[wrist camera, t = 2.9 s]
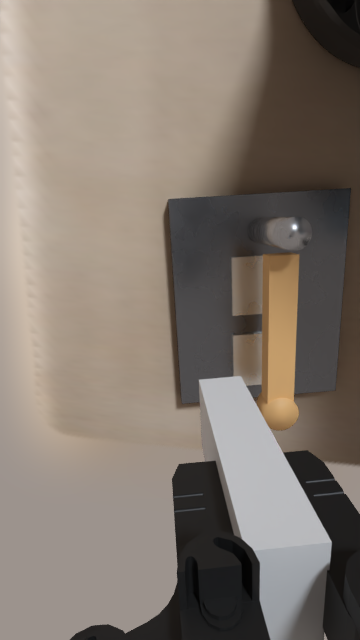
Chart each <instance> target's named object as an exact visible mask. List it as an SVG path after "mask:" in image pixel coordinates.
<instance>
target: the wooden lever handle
mask: <svg viewBox="0 0 360 640" xmlns="http://www.w3.org/2000/svg"><path fill="white" fill-rule="evenodd" d="M298 278H299V254H296V253H292V252H287V253H272V254H263V287H262V392H261V393H260V395H259V396H258V398H257V406H258V408H259V410H260V412H261V414H262V416H263V417H264V419H265V421H266V423H267V425H268V427H270V428H271V429H273V430H285V429H288V428H290V427H291V426H293V425H294V424H295V422H296V421H297V419H298V416H299V410H298V407H297V406H296V404H295V403H294V382H295V356H296V330H297V304H298Z"/></svg>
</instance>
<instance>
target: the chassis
mask: <svg viewBox="0 0 360 640" xmlns="http://www.w3.org/2000/svg"><path fill="white" fill-rule="evenodd" d="M350 193H351V188H347V189H330V190H313V191H297V192H280V193H263V194H247V195H230V196H213V197H196V198H180V199H168V207H169V222H170V237H171V253H172V268H173V283H174V298H175V314H176V329H177V344H178V359H179V374H180V390H181V401H182V404H184V403H195V402H200V395H199V380H200V379H212V378H224V377H235V376H241V377H242V379H243V381H244V383H245V385H246V386H247V388H248V390H249V392H250V394H251V396H252V397H258V396H259V395H260V393H261V392H262V287H263V254H272V253H287V252H292V253H296V254H299V278H298V304H297V330H296V356H295V382H294V394H299V393H311V392H322V391H334V390H335V389H336V376H337V363H338V350H339V337H340V324H341V310H342V297H343V284H344V271H345V258H346V245H347V232H348V219H349V206H350Z"/></svg>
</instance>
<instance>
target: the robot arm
mask: <svg viewBox="0 0 360 640" xmlns="http://www.w3.org/2000/svg"><path fill="white" fill-rule="evenodd" d="M293 2H294V5H295V7H296V9H297V11H298V13H299V15H300V17H301V19H302V21H303V22H304V24H305V26H306V27H307V28H308V30H309V31H310V33H311V34H312V35H313V36H314V38H315V39H316V40H317V41H318V42H319V43H320V44H321V45H322V46H323V47H324V48H325V49H326V50H328V51H329V52H330V53H332V54H333V55H334V56H336V57H337V58H339V59H341V60H342V61H344V62H346V63H348V64H351V65H354V66H356V67H360V0H293ZM199 395H200V415H201V436H202V448H203V453H204V458H205V462H196V463H186V464H179V466H178V467H177V469H176V472H175V474H174V476H173V478H172V484H173V501H174V516H175V532H176V548H177V563H178V568H177V578H178V581H177V585H176V589H175V592H174V595H173V596H172V598H171V600H170V602H169V604H168V605H167V606H166V607H165V608H164V609H163V610H162V611H161V613H160V614H159V615H157V616H156V617H154V618H153V619H151V620H150V621H148V622H147V623H145V624H143V625H141V626H139V627H137V628H135V629H133V630H131V631H130V632H127V633H126V634H125V633H124V632H123V630H120V629H118V628H116V627H113V626H111V625H95V626H91V627H89V628H87V629H85V630H83V631H81V632H79V633H77V634H75V635H74V636H73V637H72V638H71V639H70V640H324V632H325V634H326V637H327V639H328V640H360V514H359V513H358V511H357V510H356V508H355V507H354V505H353V504H352V502H351V501H350V500H349V498H348V497H347V495H346V494H344V492H343V489H342V488H341V487H340V485H339V484H338V482H337V481H335V479H334V477H333V475H332V474H331V472H330V471H329V469H328V468H327V467H326V465H325V464H324V462H322V461H321V460H320V459H318V458H317V457H316V456H314V455H313V454H312V453H310V452H309V451H308V450H306V451H296V452H286V453H283V452H282V450H281V448H280V447H279V445H278V443H277V441H276V439H275V437H274V436H273V434H272V432H271V430H270V428H269V427H268V425H267V423H266V421H265V419H264V417H263V416H262V414H261V412H260V410H259V408H258V406H257V405H256V403H255V401H254V399H253V397H252V396H251V394H250V392H249V390H248V388H247V386H246V385H245V383H244V381H243V379H242V377H241V376H235V377H224V378H212V379H200V380H199Z"/></svg>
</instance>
